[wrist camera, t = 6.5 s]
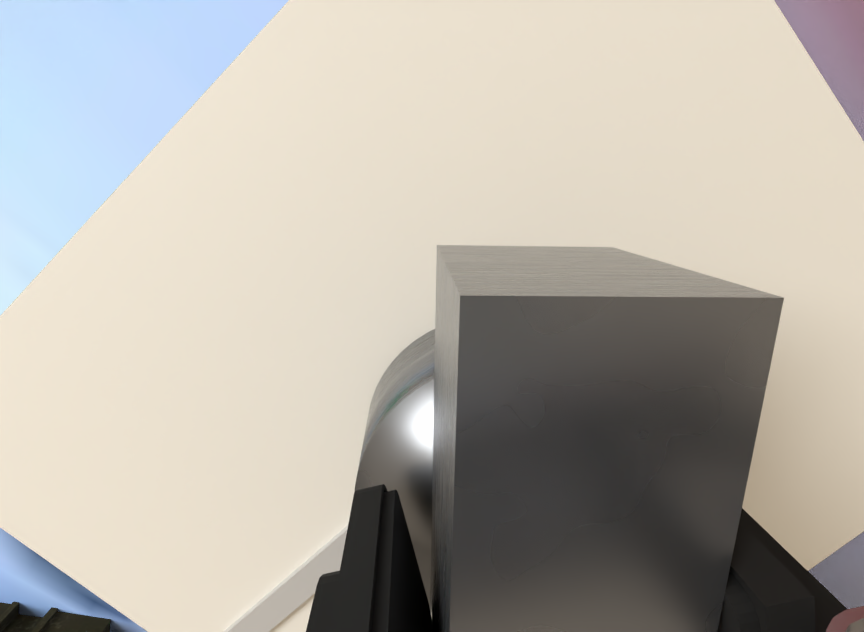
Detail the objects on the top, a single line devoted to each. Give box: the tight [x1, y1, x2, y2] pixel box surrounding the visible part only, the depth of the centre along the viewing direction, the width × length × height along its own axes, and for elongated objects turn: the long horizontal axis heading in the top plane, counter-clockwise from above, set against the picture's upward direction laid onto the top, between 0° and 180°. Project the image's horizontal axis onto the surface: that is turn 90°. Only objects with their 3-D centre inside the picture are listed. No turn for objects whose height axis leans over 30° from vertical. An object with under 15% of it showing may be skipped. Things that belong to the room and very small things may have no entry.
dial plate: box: [0, 0, 864, 632], centre depth 13 cm, size 22×20×2 cm
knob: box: [355, 245, 784, 632], centre depth 10 cm, size 13×6×7 cm, turn 179°
